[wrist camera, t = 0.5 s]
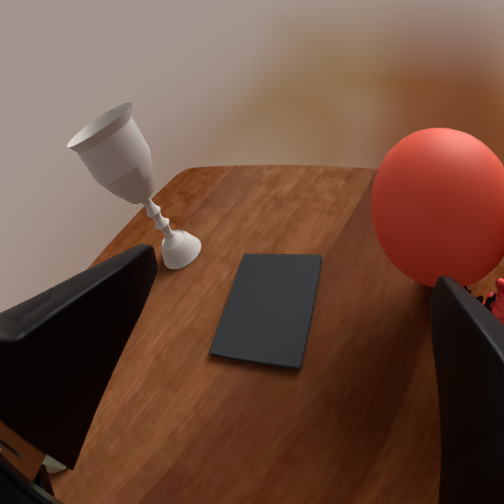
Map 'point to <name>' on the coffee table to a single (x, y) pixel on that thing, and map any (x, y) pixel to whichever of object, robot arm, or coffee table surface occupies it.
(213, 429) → the coffee table surface
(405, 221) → the molecule
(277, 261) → the mat
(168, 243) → the chalice
